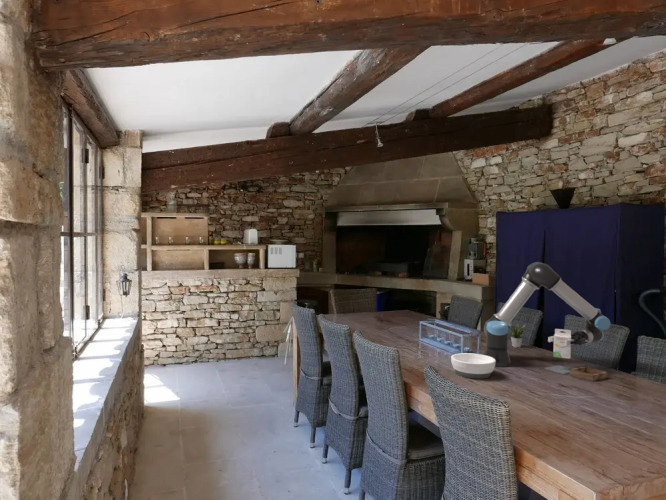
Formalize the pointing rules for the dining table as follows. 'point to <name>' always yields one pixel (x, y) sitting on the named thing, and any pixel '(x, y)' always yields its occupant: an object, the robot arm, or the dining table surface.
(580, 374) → the wooden tray
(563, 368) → the slate mat
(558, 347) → the ink box
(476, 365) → the bowl
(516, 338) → the house plant
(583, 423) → the dining table surface
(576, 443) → the dining table surface
